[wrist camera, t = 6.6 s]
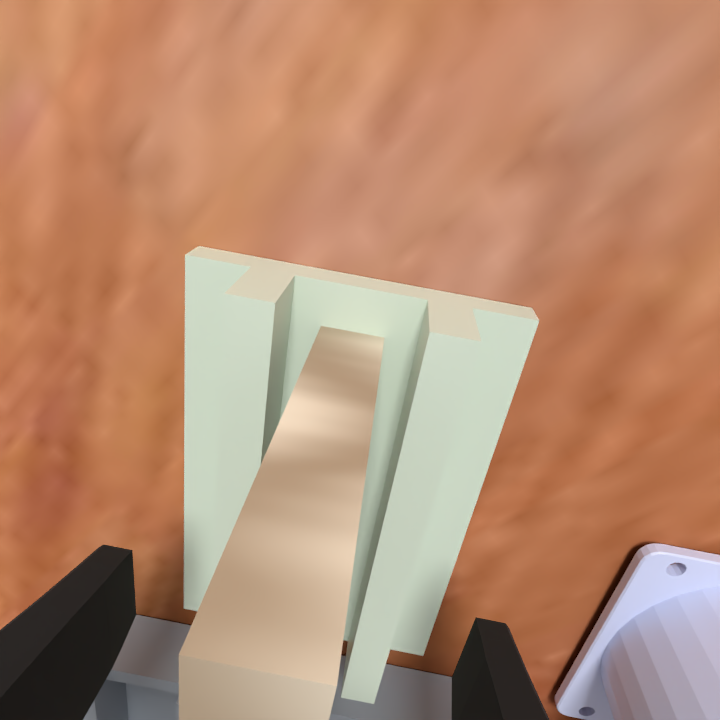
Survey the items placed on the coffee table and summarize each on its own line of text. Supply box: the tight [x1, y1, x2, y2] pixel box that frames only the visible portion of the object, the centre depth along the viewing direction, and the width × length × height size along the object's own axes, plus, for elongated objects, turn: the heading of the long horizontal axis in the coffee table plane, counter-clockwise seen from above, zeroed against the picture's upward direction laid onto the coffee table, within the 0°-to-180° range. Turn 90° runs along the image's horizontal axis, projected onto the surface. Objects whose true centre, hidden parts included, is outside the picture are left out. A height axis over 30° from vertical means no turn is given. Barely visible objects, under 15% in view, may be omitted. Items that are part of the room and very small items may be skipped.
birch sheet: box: [179, 326, 384, 720], centre depth 11 cm, size 2×10×8 cm, turn 171°
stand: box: [184, 246, 539, 704], centre depth 14 cm, size 8×12×3 cm, turn 171°
